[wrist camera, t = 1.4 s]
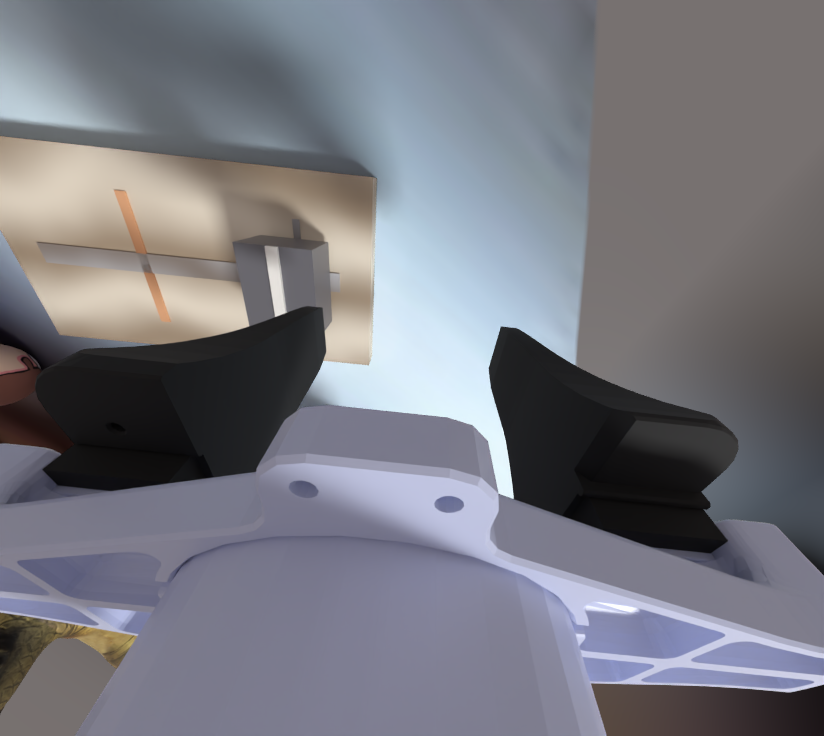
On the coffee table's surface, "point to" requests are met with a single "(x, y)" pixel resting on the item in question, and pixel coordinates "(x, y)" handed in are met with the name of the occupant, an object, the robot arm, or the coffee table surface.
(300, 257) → the fader tab
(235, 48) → the coffee table surface
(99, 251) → the fader console
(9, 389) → the figurine character
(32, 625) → the figurine
